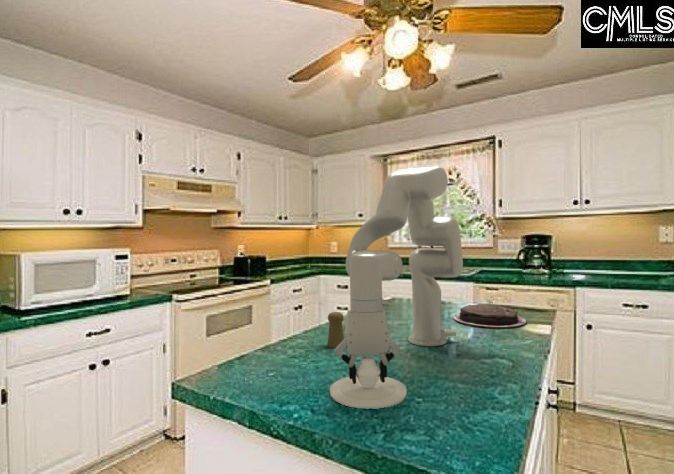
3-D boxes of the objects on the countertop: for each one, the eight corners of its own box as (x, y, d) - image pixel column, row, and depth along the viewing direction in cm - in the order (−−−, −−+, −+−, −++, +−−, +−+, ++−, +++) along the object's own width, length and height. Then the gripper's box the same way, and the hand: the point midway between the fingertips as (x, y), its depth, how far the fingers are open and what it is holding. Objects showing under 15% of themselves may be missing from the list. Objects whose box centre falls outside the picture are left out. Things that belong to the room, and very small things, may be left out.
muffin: (373, 392, 92) (373, 361, 92) (350, 387, 95) (349, 357, 95) (385, 382, 97) (384, 353, 97) (363, 378, 101) (362, 350, 100)
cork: (343, 348, 132) (342, 314, 132) (325, 347, 134) (324, 314, 133) (346, 343, 138) (346, 310, 138) (329, 342, 139) (328, 310, 139)
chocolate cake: (530, 318, 170) (530, 302, 170) (520, 333, 147) (520, 315, 146) (463, 312, 185) (463, 297, 185) (444, 325, 162) (443, 308, 161)
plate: (397, 377, 106) (397, 372, 106) (415, 407, 88) (415, 402, 88) (328, 380, 105) (328, 375, 105) (332, 411, 87) (331, 406, 87)
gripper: (399, 301, 100) (400, 373, 101) (329, 304, 99) (330, 377, 100) (406, 307, 93) (407, 385, 93) (330, 310, 92) (332, 389, 92)
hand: (368, 380), depth 96 cm, fingers closed on muffin, 6 cm apart
